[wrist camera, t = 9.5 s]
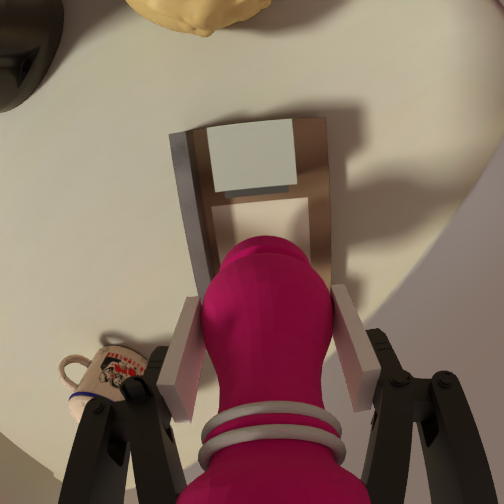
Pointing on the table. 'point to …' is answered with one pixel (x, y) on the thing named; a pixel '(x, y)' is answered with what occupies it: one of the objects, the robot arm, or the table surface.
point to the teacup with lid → (101, 376)
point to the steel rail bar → (192, 208)
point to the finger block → (253, 157)
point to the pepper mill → (270, 384)
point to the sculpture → (197, 13)
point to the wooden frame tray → (275, 202)
